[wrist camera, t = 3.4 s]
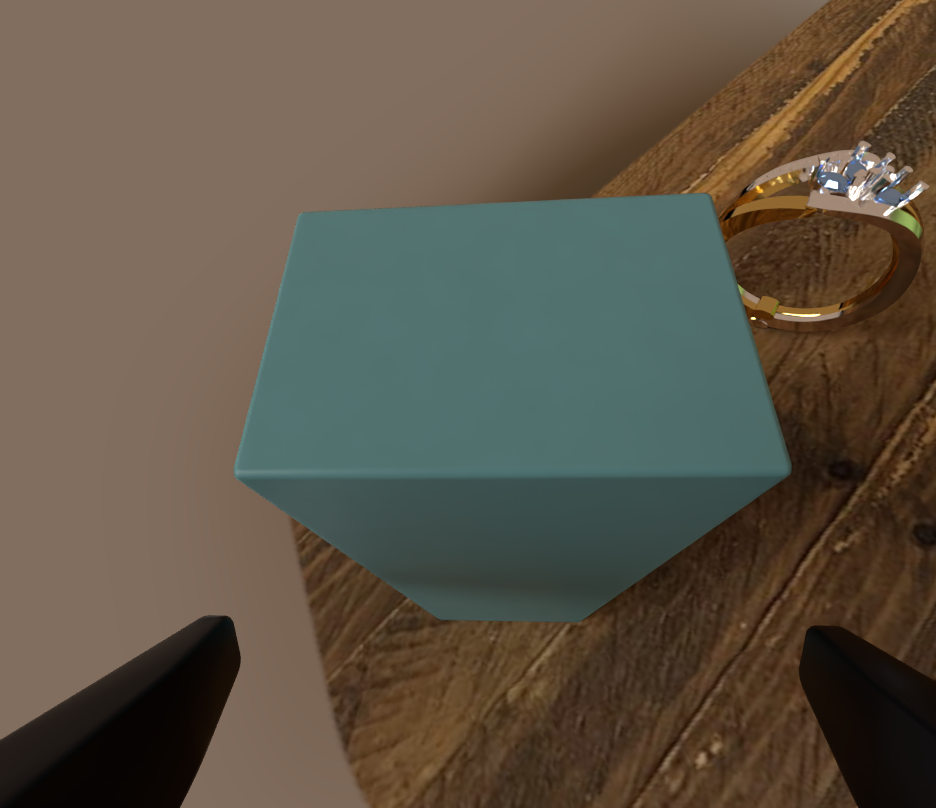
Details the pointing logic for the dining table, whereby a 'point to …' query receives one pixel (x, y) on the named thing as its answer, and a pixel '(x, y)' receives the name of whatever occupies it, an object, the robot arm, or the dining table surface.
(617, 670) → the dining table surface
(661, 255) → the back pad
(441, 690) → the dining table surface
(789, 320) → the ring
